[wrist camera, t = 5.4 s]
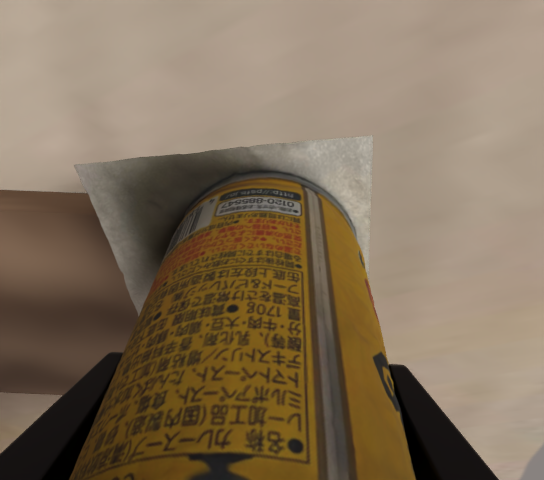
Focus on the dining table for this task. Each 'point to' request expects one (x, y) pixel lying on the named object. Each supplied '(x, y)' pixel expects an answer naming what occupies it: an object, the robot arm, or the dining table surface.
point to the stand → (57, 292)
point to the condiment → (246, 319)
